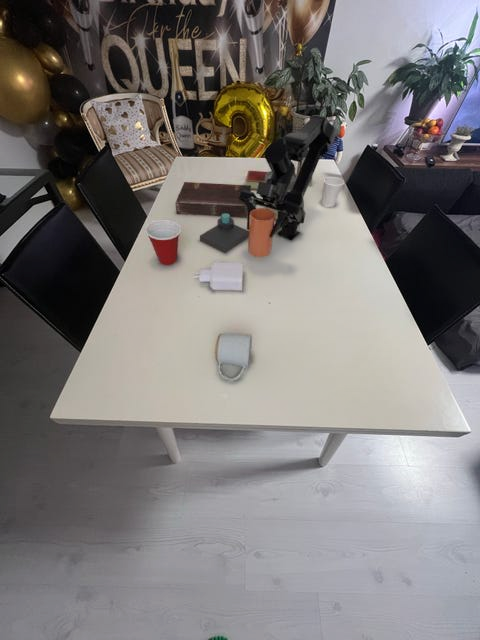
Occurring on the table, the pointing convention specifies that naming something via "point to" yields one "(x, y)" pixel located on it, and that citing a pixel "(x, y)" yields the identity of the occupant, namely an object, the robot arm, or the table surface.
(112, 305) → the table surface
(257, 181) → the hardcover book
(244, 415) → the table surface
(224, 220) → the button
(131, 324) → the table surface
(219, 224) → the dark grey base plate
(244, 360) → the ceramic mug
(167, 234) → the plastic cup
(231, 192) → the hardback book
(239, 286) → the charger
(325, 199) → the dixie cup
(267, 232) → the cup
